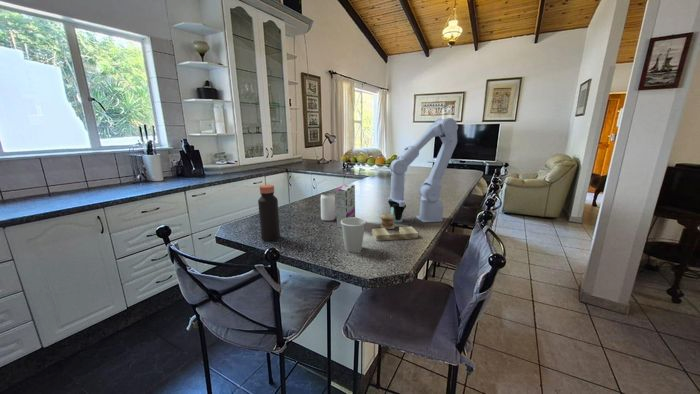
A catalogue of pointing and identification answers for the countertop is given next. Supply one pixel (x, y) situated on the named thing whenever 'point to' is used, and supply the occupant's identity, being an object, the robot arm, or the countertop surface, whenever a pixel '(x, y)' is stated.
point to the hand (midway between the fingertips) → (396, 217)
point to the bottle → (268, 214)
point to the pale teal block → (394, 214)
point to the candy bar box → (345, 203)
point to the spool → (387, 221)
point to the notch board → (394, 234)
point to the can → (327, 206)
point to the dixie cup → (353, 233)
